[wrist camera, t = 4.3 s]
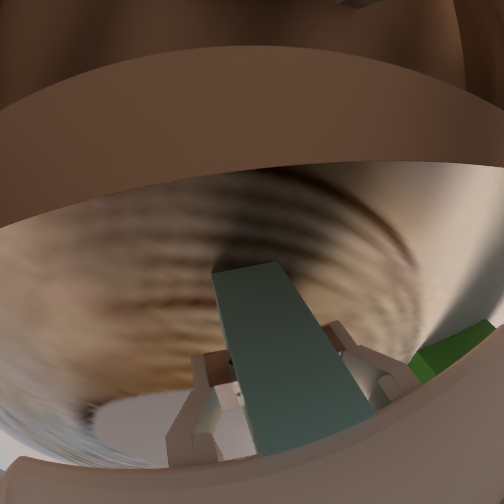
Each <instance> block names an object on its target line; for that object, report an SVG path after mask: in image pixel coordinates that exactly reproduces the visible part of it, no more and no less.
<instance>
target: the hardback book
mask: <svg viewBox="0 0 504 504" xmlns="http://www.w3.org/2000/svg"><path fill="white" fill-rule="evenodd" d="M495 330H496V328H495V327H494V326H493V325H492V324H491V323H490V322H489V321H488V320H487V319H484V320H483V321H481V322H479V323H477V324H475V325H473V326H471V327H469V328H467V329H465V330H463V331H461V332H459V333H457V334H455V335H453V336H451V337H449V338H447V339H444V340H442V341H440V342H438V343H435V344H433V345H431V346H428V347H426V348H424V349H421V350H419V351H417V352H416V353H415V355H414V356H413V358H412V359H411V361H410V362H409V364H408V367H409V368H410V369H411V370H412V372H413V373H414V374H415V375H416V377H417V378H418V379H419V381H420V382H421V383H422V384H425V383H426V382H428V381H429V380H431V379H432V378H434V377H435V376H437V375H438V374H440V373H441V372H443V371H444V370H446V369H447V368H448V367H450V366H451V365H453V364H454V363H455V362H457V361H458V360H459V359H461V358H462V357H463V356H465V355H466V354H467V353H468V352H470V351H471V350H472V349H473V348H475V347H476V346H477V345H478V344H480V343H481V342H482V341H483V340H484V339H485V338H487V337H488V336H489V335H490V334H491V333H492V332H493V331H495Z"/></svg>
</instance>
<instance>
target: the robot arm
mask: <svg viewBox="0 0 504 504" xmlns="http://www.w3.org/2000/svg"><path fill="white" fill-rule="evenodd" d="M320 326H321V328H322V329H323V331H324V332H325V334H326V336H327V337H328V339H329V340H330V342H331V343H332V345H333V346H334V348H335V349H336V351H337V353H338V354H339V356H340V357H341V359H342V360H343V362H344V363H345V365H346V367H347V368H348V370H349V371H350V373H351V374H352V376H353V378H354V379H355V381H356V382H357V384H358V385H359V387H360V389H361V390H362V392H363V393H364V395H365V397H366V398H367V399H368V401H369V403H370V404H371V406H372V408H373V409H374V411H375V413H374V414H373V416H372V417H371V418H369V419H367V420H365V421H362V422H360V423H358V424H356V425H354V426H351V427H349V428H347V429H344V430H342V431H340V432H337V433H335V434H332V435H330V436H327V437H324V438H322V439H319V440H316V441H314V442H311V443H308V444H305V445H302V446H299V447H296V448H293V449H289V450H286V451H283V452H279V453H276V454H272V455H268V456H264V457H263V456H262V454H261V453H259V454H255V455H251V456H247V457H242V458H237V459H232V460H227V461H225V460H224V457H223V454H222V452H221V451H220V449H219V447H218V445H217V443H216V441H215V440H214V438H213V435H214V432H215V430H216V426H217V424H218V422H219V419H220V417H221V414H222V410H226V409H230V408H234V407H238V406H242V405H243V404H242V399H241V395H240V390H239V385H238V380H237V377H236V373H235V370H234V366H233V365H232V360H231V355H230V352H229V349H227V350H222V351H216V352H210V353H204V354H199V355H193V356H191V366H192V373H193V380H194V387H195V390H193V391H191V392H190V394H189V396H188V398H187V399H186V401H185V403H184V405H183V407H182V408H181V410H180V412H179V414H178V415H177V417H176V419H175V421H174V423H173V424H172V426H171V428H170V430H169V431H168V433H167V435H166V436H165V437H166V447H167V456H168V464H169V468H159V469H108V468H93V467H83V466H74V465H67V464H60V463H54V462H49V461H44V460H39V459H35V458H30V457H26V456H20V457H18V458H17V459H16V460H15V461H14V462H13V463H12V464H11V465H10V466H9V467H8V468H7V470H6V471H5V472H4V473H3V475H2V477H1V479H0V504H504V324H503V325H500V326H499V327H498V328H497V329H496V330H495V331H493V332H492V333H491V334H490V335H489V336H488V337H487V338H485V339H484V340H483V341H482V342H481V343H480V344H478V345H477V346H476V347H475V348H473V349H472V350H471V351H470V352H468V353H467V354H466V355H465V356H463V357H462V358H461V359H459V360H458V361H457V362H455V363H454V364H453V365H451V366H450V367H448V368H447V369H446V370H444V371H443V372H441V373H440V374H438V375H437V376H435V377H434V378H432V379H431V380H429V381H428V382H426V383H425V384H422V383H421V382H420V381H419V379H418V378H417V377H416V375H415V374H414V373H413V372H412V370H411V369H410V368H409V367H408V365H407V364H405V363H403V362H400V361H398V360H395V359H393V358H391V357H388V356H386V355H383V354H381V353H379V352H376V351H374V350H372V349H369V348H367V347H365V346H362V345H359V346H358V345H357V344H356V343H355V341H354V340H353V339H352V337H351V336H350V335H349V333H348V332H347V331H346V329H345V328H344V327H343V325H342V324H341V323H340V321H338V320H336V321H333V322H330V323H327V324H323V325H320Z"/></svg>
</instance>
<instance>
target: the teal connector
mask: <svg viewBox="0 0 504 504" xmlns="http://www.w3.org/2000/svg"><path fill="white" fill-rule="evenodd" d="M211 276H212V281H213V287H214V292H215V298H216V303H217V308H218V313H219V318H220V324H221V329H222V333H223V338H224V342H225V346H226V350H227V349H229V352H230V355H231V360H232V365H233V366H234V370H235V373H236V377H237V380H238V385H239V390H240V395H241V399H242V404H243V405H242V408H243V411H244V414H245V418H246V421H247V424H248V428H249V430H250V434H251V437H252V441H253V444H254V447H255V450H256V453H257V454H259V453H261V454H262V456H263V457H264V456H268V455H272V454H276V453H279V452H283V451H286V450H289V449H293V448H296V447H299V446H302V445H305V444H308V443H311V442H314V441H316V440H319V439H322V438H324V437H327V436H330V435H332V434H335V433H337V432H340V431H342V430H344V429H347V428H349V427H351V426H354V425H356V424H358V423H360V422H362V421H365V420H367V419H369V418H371V417H372V416H373V414H374V413H375V411H374V409H373V408H372V406H371V404H370V403H369V401H368V400H367V398H366V397H365V395H364V393H363V392H362V390H361V389H360V387H359V385H358V384H357V382H356V381H355V379H354V378H353V376H352V374H351V373H350V371H349V370H348V368H347V367H346V365H345V363H344V362H343V360H342V359H341V357H340V356H339V354H338V353H337V351H336V349H335V348H334V346H333V345H332V343H331V342H330V340H329V339H328V337H327V336H326V334H325V332H324V331H323V329H322V328H321V326H320V325H319V323H318V322H317V320H316V319H315V317H314V316H313V314H312V313H311V311H310V309H309V308H308V306H307V305H306V303H305V302H304V300H303V299H302V297H301V296H300V294H299V293H298V291H297V290H296V288H295V287H294V285H293V284H292V282H291V281H290V279H289V278H288V276H287V275H286V273H285V272H284V270H283V269H282V267H281V266H280V264H279V263H278V261H274V262H269V263H263V264H258V265H253V266H248V267H243V268H238V269H233V270H227V271H222V272H217V273H212V274H211Z"/></svg>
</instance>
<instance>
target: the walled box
mask: <svg viewBox="0 0 504 504" xmlns="http://www.w3.org/2000/svg"><path fill="white" fill-rule="evenodd" d="M356 161H424V162H446V163H462V164H474V165H484V166H494V167H502V168H504V0H0V228H2V227H4V226H7V225H10V224H13V223H15V222H18V221H21V220H24V219H27V218H30V217H33V216H36V215H39V214H42V213H45V212H49V211H52V210H55V209H58V208H62V207H65V206H69V205H72V204H76V203H79V202H83V201H87V200H91V199H94V198H98V197H102V196H106V195H111V194H115V193H119V192H123V191H128V190H132V189H137V188H141V187H146V186H151V185H156V184H161V183H166V182H172V181H177V180H183V179H188V178H194V177H201V176H207V175H213V174H220V173H227V172H235V171H243V170H251V169H259V168H269V167H278V166H289V165H301V164H315V163H332V162H356Z"/></svg>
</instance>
